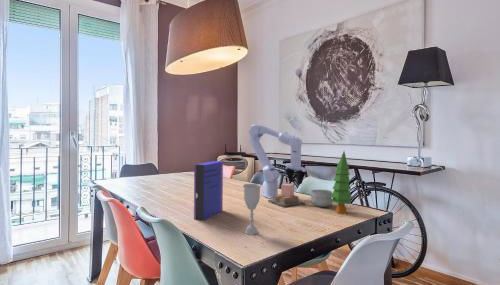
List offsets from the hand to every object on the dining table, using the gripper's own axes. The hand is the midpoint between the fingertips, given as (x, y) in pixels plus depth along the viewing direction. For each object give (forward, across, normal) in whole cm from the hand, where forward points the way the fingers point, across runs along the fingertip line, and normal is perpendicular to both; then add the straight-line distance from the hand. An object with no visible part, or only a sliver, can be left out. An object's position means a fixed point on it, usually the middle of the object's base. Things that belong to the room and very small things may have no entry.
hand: (295, 182), depth 171 cm
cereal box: (+10, +2, -55) cm, 56 cm away
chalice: (+10, +33, -52) cm, 62 cm away
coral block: (+5, +4, -9) cm, 12 cm away
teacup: (+10, +19, +3) cm, 22 cm away
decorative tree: (+10, +32, 0) cm, 34 cm away
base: (+9, +4, -10) cm, 15 cm away
